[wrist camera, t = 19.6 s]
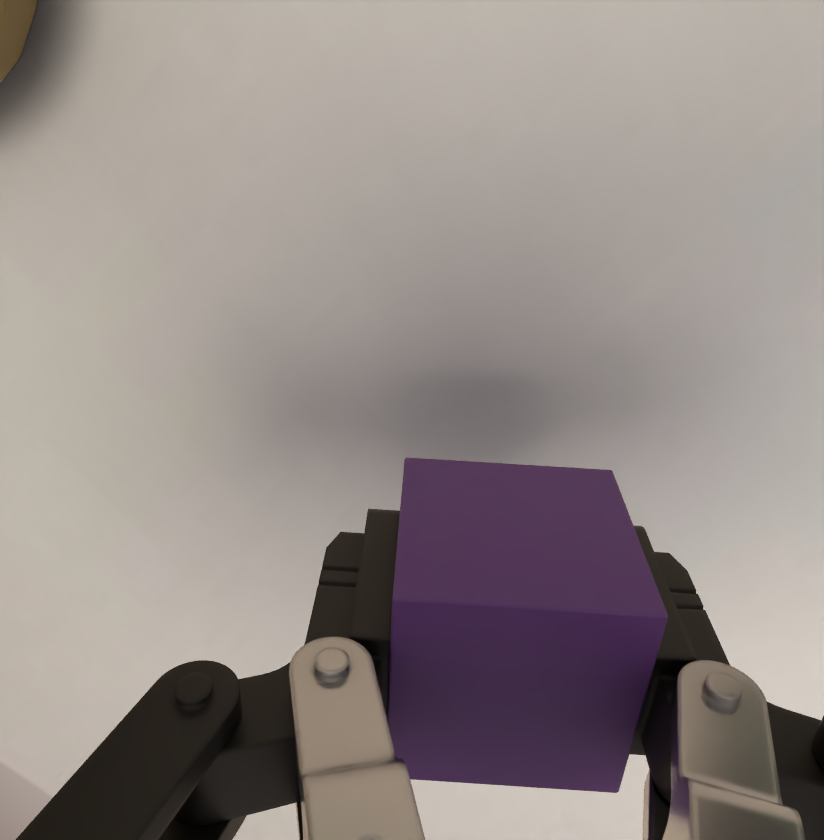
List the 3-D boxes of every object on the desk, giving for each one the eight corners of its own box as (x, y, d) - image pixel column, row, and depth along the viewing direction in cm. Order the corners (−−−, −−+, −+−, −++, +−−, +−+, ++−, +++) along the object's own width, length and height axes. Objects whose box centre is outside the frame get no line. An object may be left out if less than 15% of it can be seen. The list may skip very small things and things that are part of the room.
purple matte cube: (612, 469, 14) (669, 616, 10) (579, 624, 16) (618, 793, 12) (404, 456, 14) (391, 598, 11) (396, 613, 16) (383, 778, 12)
